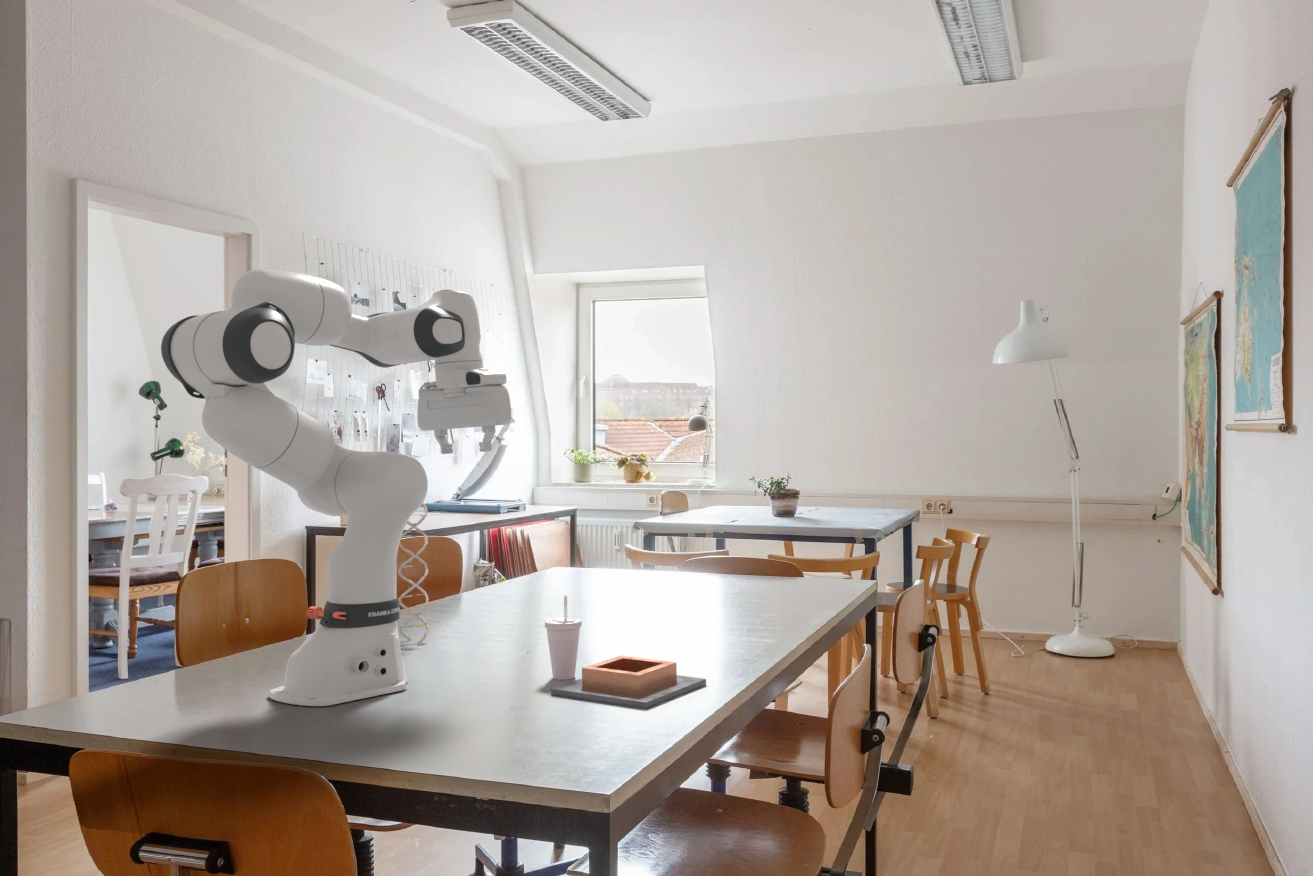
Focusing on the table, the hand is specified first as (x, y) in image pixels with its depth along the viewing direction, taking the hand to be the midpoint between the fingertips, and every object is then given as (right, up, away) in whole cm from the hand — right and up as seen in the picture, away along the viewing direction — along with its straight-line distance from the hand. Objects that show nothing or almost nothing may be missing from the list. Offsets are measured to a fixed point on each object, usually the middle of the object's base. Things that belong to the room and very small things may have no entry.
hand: (466, 452), depth 196 cm
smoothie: (+20, -38, -16) cm, 46 cm away
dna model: (-14, -39, +17) cm, 45 cm away
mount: (+31, -38, -26) cm, 56 cm away
